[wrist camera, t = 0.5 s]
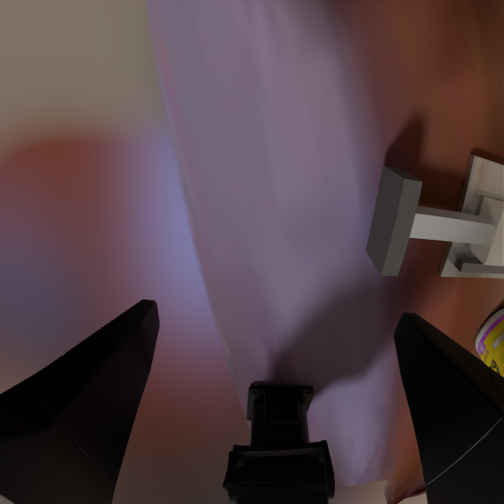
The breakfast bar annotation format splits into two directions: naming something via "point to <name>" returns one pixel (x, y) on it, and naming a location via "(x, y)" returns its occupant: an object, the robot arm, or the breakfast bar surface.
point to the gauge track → (474, 190)
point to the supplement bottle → (492, 342)
